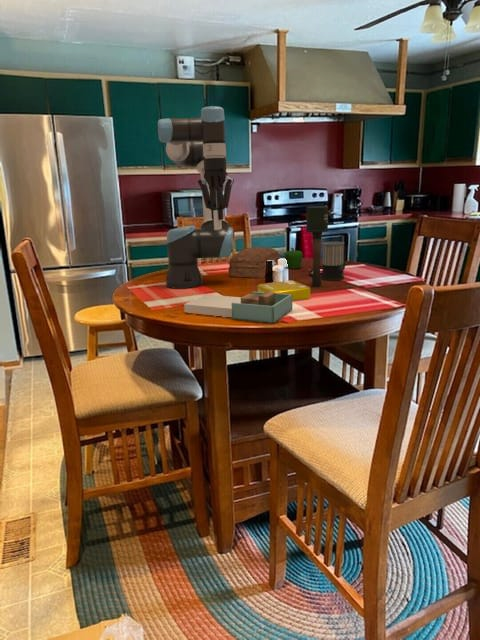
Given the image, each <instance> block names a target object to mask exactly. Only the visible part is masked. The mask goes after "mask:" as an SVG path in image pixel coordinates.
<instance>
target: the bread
mask: <svg viewBox="0 0 480 640" xmlns="http://www.w3.org/2000/svg"><path fill="white" fill-rule="evenodd" d="M278 259H280V253H279V251H278V250H276V249H275V248H272V247H266V246H252V247H247V248H245V249H242V250H239V251H237V253H235V254H233V255H232V257H231V258H230V260H229V262H228V265H229V267H228V269H227V270H228V276H229V277H230V276H233V277H232V278H244V277H252V279H264V278H265V277H266V276H265V264H266V261H267V260H278ZM234 276H235V277H234Z"/></svg>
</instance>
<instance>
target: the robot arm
mask: <svg viewBox="0 0 480 640" xmlns="http://www.w3.org/2000/svg"><path fill="white" fill-rule="evenodd" d="M200 113H201V115H200V117H192V118H191V117H189V118H169V117H168V118H161V119H160V118H159V120H158V121H157V133H158V141H160V142H161V143H166V146H165V152H166V154H167V157H168V159H169V160H170V161H172V162H173V163H175V164H177V165H179V166H181V167H186V168H196V171H197V173H199V174H200V179H198V180H197V183H198V185H199V188H200V189H201V197H202V198H201V199H202V212H203V213H202V214H203V222H202V223H201V225H200V228H199V229H196V226H195V225H187V226H181V227H175V228H172V229H169V230H168V231H167V232H166V245H167V259H168V269H167V273H166V277H165V286H166V287H167V286H168V288H170V287H174V288H173V289H189V287H192V288H197V287H199V285H200V286H202V285H204V281H203V280H204V279H203V276H202V272H201V271H200V268H199V265H198V259H215V258H217V259H218V258H219V259H221V258H226V257H227V258H229V257H230V256H232V253H233V252H232V251H233V240H234V228H233V227H231V226H230V224H229V222H228V221H226V218H225V209H227V208H229V205H230V204H229V203H230V198H231V192H232V191H231V190H232V187H233V184H234V183H235V180H234V178H231V177H229V176H228V172H227V162H228V158H227V157H228V156H227V149H226V127H225V125H226V124H225V120H226V119H225V118H226V117H225V110H224V108H223V107H221V106H213V105H212V106H206V107H205V106H204V107H202V108H201V110H200ZM224 184H225V185H224ZM196 286H197V287H196Z"/></svg>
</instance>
